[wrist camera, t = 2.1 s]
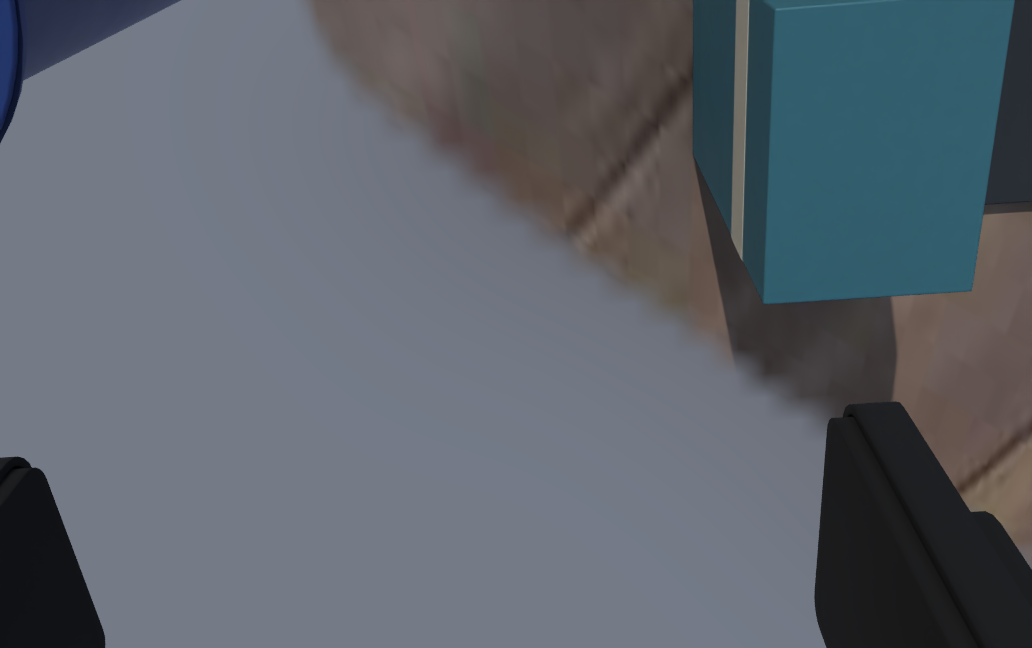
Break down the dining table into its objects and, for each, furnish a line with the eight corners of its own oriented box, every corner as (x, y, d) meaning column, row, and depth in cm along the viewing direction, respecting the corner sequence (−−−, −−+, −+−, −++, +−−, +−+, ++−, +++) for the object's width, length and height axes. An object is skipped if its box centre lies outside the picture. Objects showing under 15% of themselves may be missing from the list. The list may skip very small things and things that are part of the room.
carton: (692, 155, 34) (762, 306, 24) (692, -57, 31) (773, 7, 20) (836, 144, 34) (973, 292, 23) (852, -71, 31) (1019, -13, 20)
